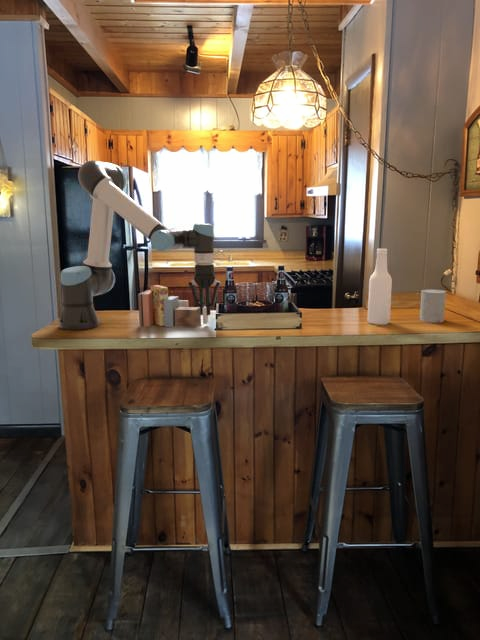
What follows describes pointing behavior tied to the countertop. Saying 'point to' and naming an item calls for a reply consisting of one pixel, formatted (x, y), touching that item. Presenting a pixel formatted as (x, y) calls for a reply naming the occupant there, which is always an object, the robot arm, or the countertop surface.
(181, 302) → the book rack
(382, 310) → the alcohol
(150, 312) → the shelved books
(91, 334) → the countertop surface
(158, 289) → the candy box
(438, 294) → the grey cylinder
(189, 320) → the walnut block
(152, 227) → the robot arm
